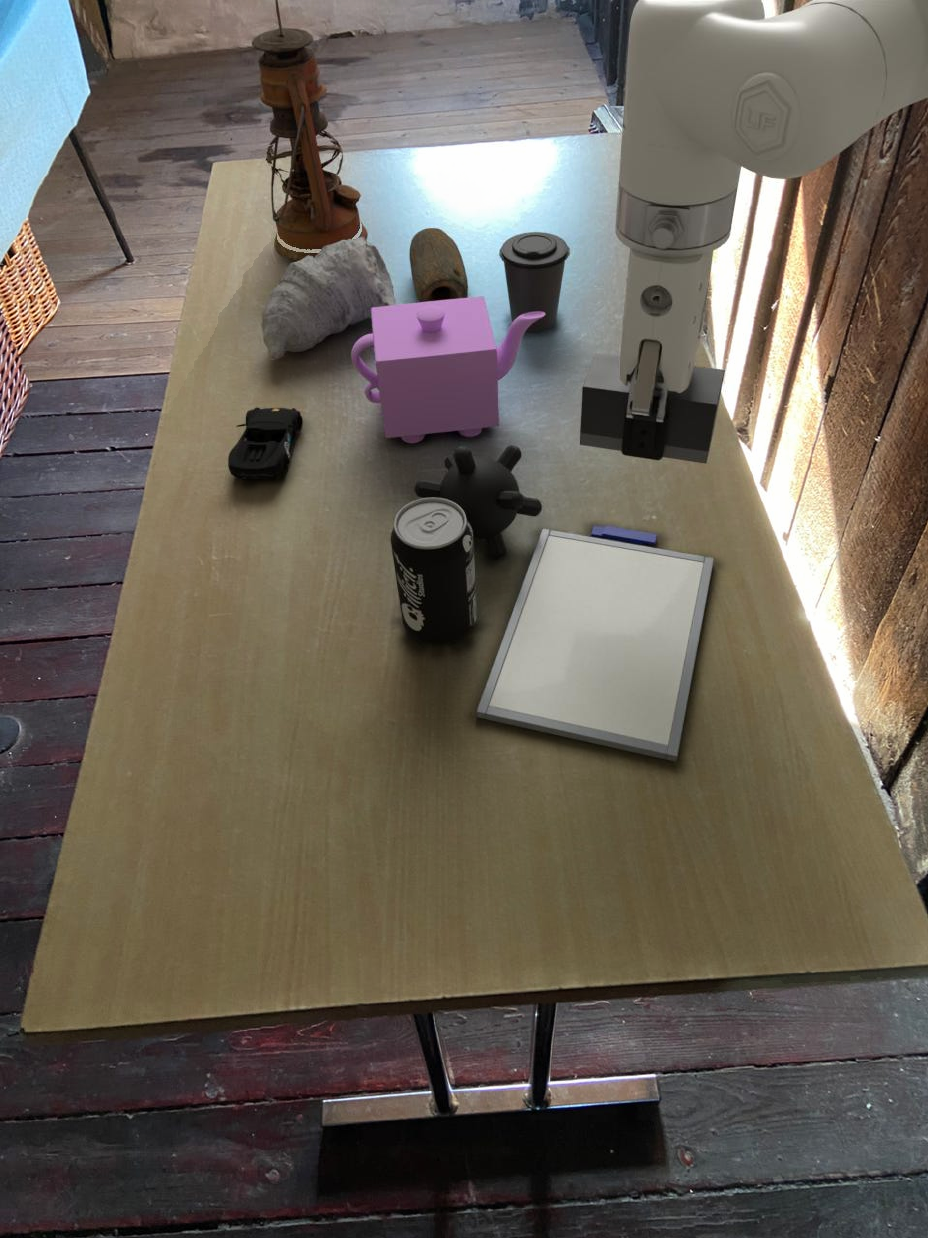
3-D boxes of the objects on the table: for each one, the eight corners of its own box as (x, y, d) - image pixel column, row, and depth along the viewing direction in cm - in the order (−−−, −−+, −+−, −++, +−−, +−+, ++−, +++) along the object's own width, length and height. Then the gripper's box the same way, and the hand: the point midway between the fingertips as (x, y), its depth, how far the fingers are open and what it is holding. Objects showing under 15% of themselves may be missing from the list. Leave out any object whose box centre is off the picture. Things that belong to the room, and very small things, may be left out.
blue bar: (643, 543, 87) (643, 545, 88) (646, 534, 88) (645, 536, 88) (591, 533, 88) (590, 536, 89) (593, 525, 89) (593, 527, 89)
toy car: (300, 412, 104) (293, 379, 101) (318, 479, 96) (311, 446, 93) (223, 427, 103) (214, 395, 99) (235, 496, 95) (225, 464, 92)
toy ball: (545, 566, 82) (411, 544, 80) (520, 564, 93) (400, 545, 91) (565, 445, 82) (429, 421, 80) (537, 457, 92) (417, 436, 90)
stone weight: (479, 323, 114) (477, 271, 109) (422, 331, 113) (418, 280, 108) (455, 263, 124) (452, 213, 119) (403, 271, 123) (398, 221, 118)
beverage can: (387, 624, 82) (371, 524, 73) (439, 583, 85) (429, 482, 76) (441, 662, 79) (430, 563, 70) (493, 618, 82) (489, 517, 73)
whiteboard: (712, 564, 85) (714, 557, 85) (676, 762, 72) (677, 756, 71) (542, 534, 89) (542, 527, 88) (476, 717, 75) (476, 711, 75)
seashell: (269, 376, 109) (250, 297, 101) (266, 310, 118) (249, 233, 111) (406, 358, 110) (398, 278, 102) (392, 294, 119) (384, 217, 112)
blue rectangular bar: (656, 536, 88) (657, 533, 88) (654, 545, 87) (655, 542, 87) (604, 527, 89) (604, 525, 89) (601, 535, 88) (601, 533, 88)
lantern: (380, 258, 126) (348, -1, 103) (284, 276, 124) (231, 17, 101) (353, 204, 137) (320, -40, 114) (265, 220, 135) (213, -26, 112)
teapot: (363, 452, 98) (346, 348, 89) (359, 396, 105) (343, 293, 96) (551, 432, 99) (554, 326, 90) (535, 377, 106) (537, 273, 96)
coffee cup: (518, 346, 110) (518, 266, 103) (489, 313, 115) (487, 235, 108) (579, 328, 112) (583, 248, 105) (548, 296, 117) (549, 218, 110)
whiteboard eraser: (714, 428, 75) (725, 369, 71) (706, 464, 72) (717, 404, 68) (591, 411, 77) (595, 353, 73) (579, 445, 75) (582, 386, 70)
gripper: (716, 279, 55) (679, 512, 69) (747, 158, 65) (710, 380, 79) (590, 266, 57) (578, 495, 70) (640, 150, 67) (621, 369, 81)
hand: (648, 432), depth 75 cm, fingers closed on whiteboard eraser, 4 cm apart
